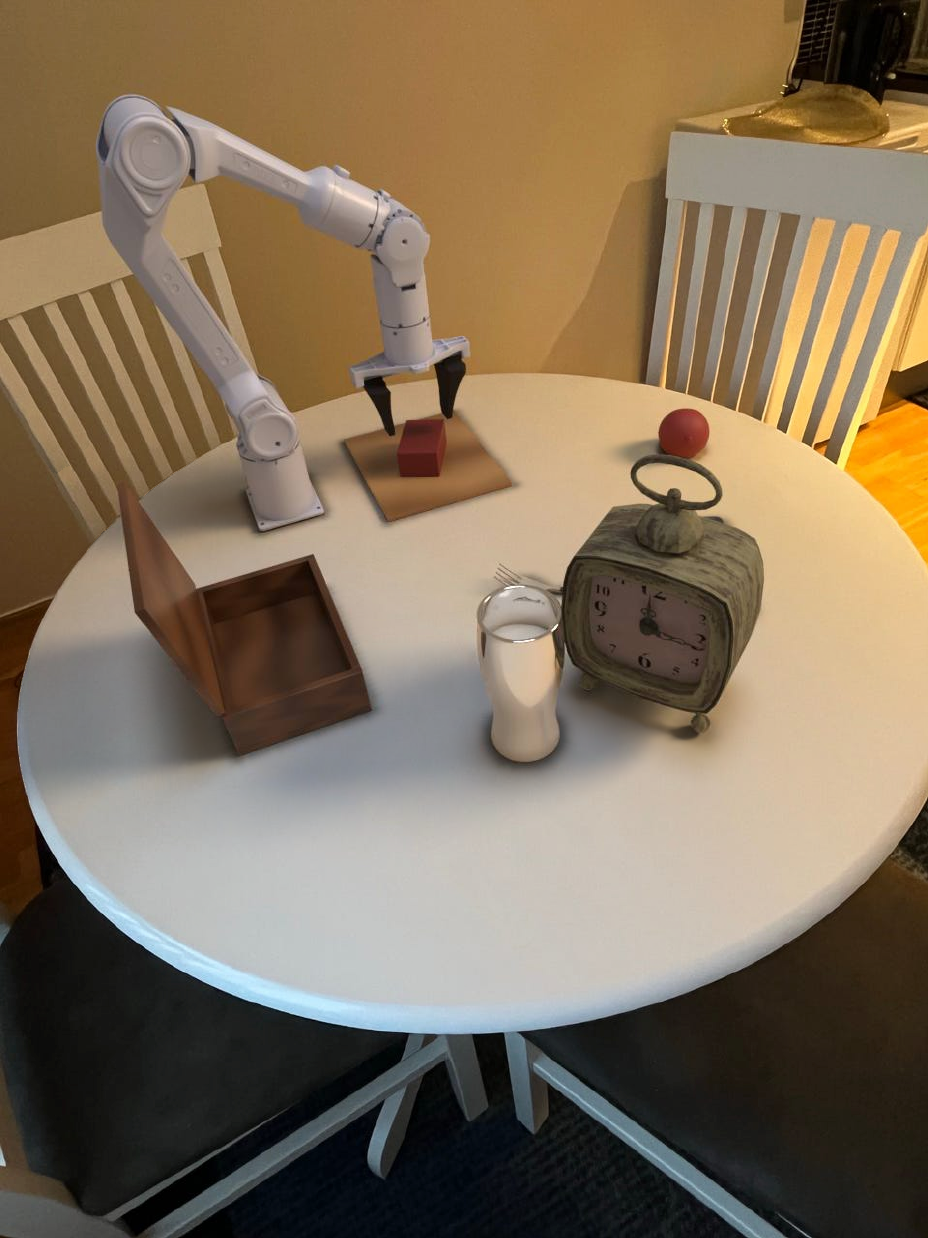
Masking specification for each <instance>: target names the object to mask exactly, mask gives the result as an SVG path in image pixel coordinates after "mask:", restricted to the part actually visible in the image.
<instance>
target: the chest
mask: <svg viewBox="0 0 928 1238" xmlns="http://www.w3.org/2000/svg"><path fill="white" fill-rule="evenodd" d="M196 590H197V594H198V598H199V603H200V607H201V611H202V616H203V620H204V624H205V628H206V633H207V637H208V641H209V646H210V650H211V654H212V659H213V663H214V667H215V672H216V676H217V680H218V685H219V689H220V693H221V698H222V702H223V706H224V711H225V713H224V714H221V718H222V720H223V723H224V725H225V727H226V730H227V732H228V735H229V736H230V739H231V741H232V744H233V746H234V748H235V750H236V752H237V755H238V757H240V756H243V755H246V754H248V753H252V752H255V751H257V750H260V749H263V748H266V747H270V746H272V745H275V744H278V743H280V742H283V741H287V740H289V739H292V738H295V737H298V736H300V735H304V734H307V733H310V732H313V731H315V730H319V729H321V728H324V727H327V726H329V725H330V726H331V725H332V724H336V723H339V722H341V721H345V720H348V719H350V718H353V717H356V716H359V715H362V714H365V713H367V712H370V711H372V710H373V708H372V704H371V700H370V696H369V692H368V688H367V684H366V680H365V675H364V671H363V669H362V667H361V664H360V662H359V659H358V657H357V655H356V653H355V650H354V647H353V645H352V643H351V640H350V638H349V635H348V632H347V631H346V628H345V626H344V623H343V621H342V619H341V616H340V614H339V611H338V609H337V607H336V604H335V602H334V599H333V597H332V595H331V594H332V593H331V592H330V590H329V587H328V585H327V583H326V580H325V578H324V575H323V573H322V570H321V569H320V566H319V563H318V561H317V558H316V556H315V554H314V553H311V554H309V555H305V556H301V557H298V558H295V559H292V560H288V561H284V562H281V563H278V564H274V565H271V566H268V567H265V568H262V569H258V570H254V571H251V572H248V573H245V574H241V575H237V576H234V577H231V578H227V579H224V580H221V581H217V582H213V583H211V584H207V585H204V586H201V587H196Z"/></svg>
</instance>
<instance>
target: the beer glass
mask: <svg viewBox="0 0 928 1238" xmlns="http://www.w3.org/2000/svg"><path fill="white" fill-rule="evenodd" d="M517 584H518V585H513V584H509V585H510V586H506V585H505V586H501V587H499V588H497V589H495V590H493V591H491V592H490V593H488V594H487V595H486V596H485V597H484V598H483V599H482V600H481V601H480V602H479V605H478V606H477V609H476V648H477V649H476V650H477V659H478V666H479V671H480V674H481V677H482V682H483V684H484V687H485V690H486V693H487V695H488V698H489V700H490V701H489V702H490V703H491V707H492V711H493V712H492V713H493V717H492V723H491V727H490V728H491V729H490V739H491V743H492V745H493V747H494V748H495V750H496V751H497V752H498V753H499V755H501V756H503V757H504V758H506V759H508V760H510V761H513V762H518V763H532V762H536V761H539V760H542V759H544V758H546V757H547V756H549V755H550V754H551V753H553V751H554V750H555V749H556V748H557V745H558V744H559V742H560V737H561V736H560V735H561V734H560V731H561V730H560V726H559V722H558V719H557V716H556V702H557V698H558V694H559V691H560V686H561V683H562V678H563V673H564V668H565V655H566V646H565V641H564V629H563V621H562V608H561V603H560V601H559V599H558V598H557V597H556V596H555V595H554V594H552V592H551V591H549V590H545V589H542V588H540V587H537V586H532V585H524V584H519V583H517Z"/></svg>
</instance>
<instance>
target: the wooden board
mask: <svg viewBox="0 0 928 1238" xmlns="http://www.w3.org/2000/svg"><path fill="white" fill-rule="evenodd" d="M426 419H444V422H445V431H446V441H447V443H446V448H445V453H444V457H443V462H442V467H441V472H440V476H439V477H400V471H399V465H398V458H397V451H398V447H399V444H400V440H401V437H402V433H403V430H404V426H405V423H406V422H404V423H401V424H396V425H394V427H395V435H393V436H389V435H388V433H387V432H386V431H385V429H384V428H382V429H378V430H375V431H371V432H367V433H363V434H360V435H356V436H352V437H349V438H345V439H343V443H344V444H345V446H346V448H347V450H348V452H349V453H350V455H351V457H352V459H353V461H354V463H355V464H356V466H357V468H358V470H359V471H360V474H361V475H362V477H363V479H364V480H365V483H366V485H367V486H368V488H369V490H370V492H371V493H372V495H373V496H374V499H375V500H376V502H377V504H378V506H379V507H380V510H381V511H382V513H383V515H384V517H385V518H386V520H387V522H388V523H390V522H394V521H397V520H400V519H404V518H406V517H411V516H414V515H417V514H420V513H424V512H428V511H430V510H434V509H437V508H441V507H445V506H448V505H451V504H454V503H457V502H461V501H464V500H468V499H471V498H475V497H478V496H482V495H484V494H488V493H491V492H494V491H498V490H502V489H505V488H508V487H512V486H513V482H512V481H511V480H510V479H509V477H508V476H507V475H506V473H505V472H504V470H502V468H501V467H500V466H499V464H498V463H497V462H496V461H495V459H494V458H493V457H492V455H490V453H489V452H488V451H487V449H486V448H485V447H484V445H482V443H481V442H480V440H479V439H478V438H477V437H476V435H474V433H473V432H472V431H471V430H470V428H469V427H468V426H467V424H466V423H465V422H464V420H463V419H462V418H461V417H460V416H459V414H458V412H456V411H455V409H453V416H452V418H450V419H447V418H446V417H445V416H444V415H443V414H442V412H441V413H438V414H434V415H430V416H427V417H423V418H419V419H418V420H426Z"/></svg>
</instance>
